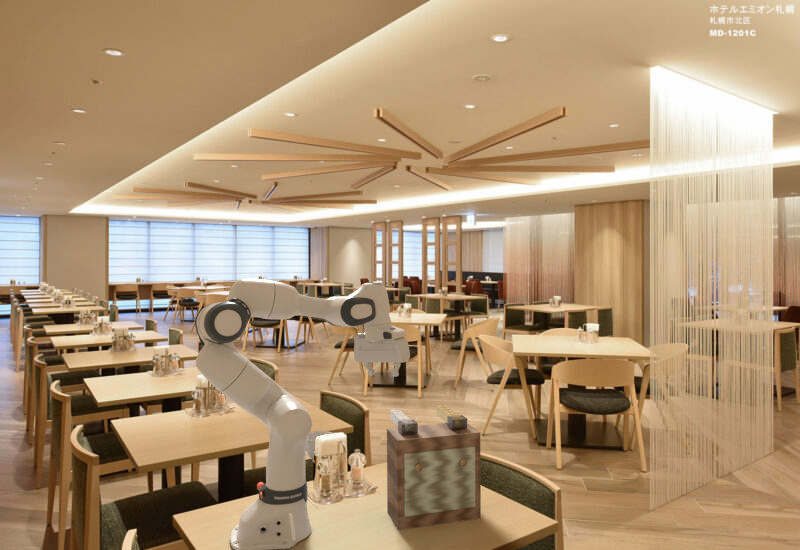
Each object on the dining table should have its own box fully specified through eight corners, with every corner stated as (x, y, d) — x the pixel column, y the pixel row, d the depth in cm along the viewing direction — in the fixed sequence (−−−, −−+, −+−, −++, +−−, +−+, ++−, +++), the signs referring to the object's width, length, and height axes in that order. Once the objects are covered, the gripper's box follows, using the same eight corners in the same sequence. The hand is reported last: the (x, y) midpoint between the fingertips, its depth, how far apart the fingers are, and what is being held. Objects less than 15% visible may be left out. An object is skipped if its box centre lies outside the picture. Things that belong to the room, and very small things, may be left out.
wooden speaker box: (399, 533, 151) (398, 442, 151) (387, 512, 165) (386, 428, 164) (483, 520, 159) (482, 434, 158) (465, 501, 172) (464, 421, 171)
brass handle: (452, 429, 162) (452, 420, 162) (433, 415, 178) (433, 406, 178) (467, 428, 163) (467, 418, 163) (447, 413, 179) (447, 405, 179)
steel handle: (401, 434, 157) (401, 424, 157) (387, 419, 174) (387, 410, 174) (417, 433, 159) (417, 423, 159) (402, 417, 175) (401, 408, 175)
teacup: (300, 454, 216) (300, 430, 216) (337, 455, 215) (336, 430, 215) (293, 466, 204) (292, 440, 204) (331, 466, 203) (331, 440, 203)
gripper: (347, 335, 173) (352, 377, 173) (398, 333, 161) (403, 379, 161) (359, 331, 178) (364, 372, 178) (410, 330, 166) (414, 374, 166)
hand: (383, 375), depth 169 cm, fingers open, 8 cm apart
